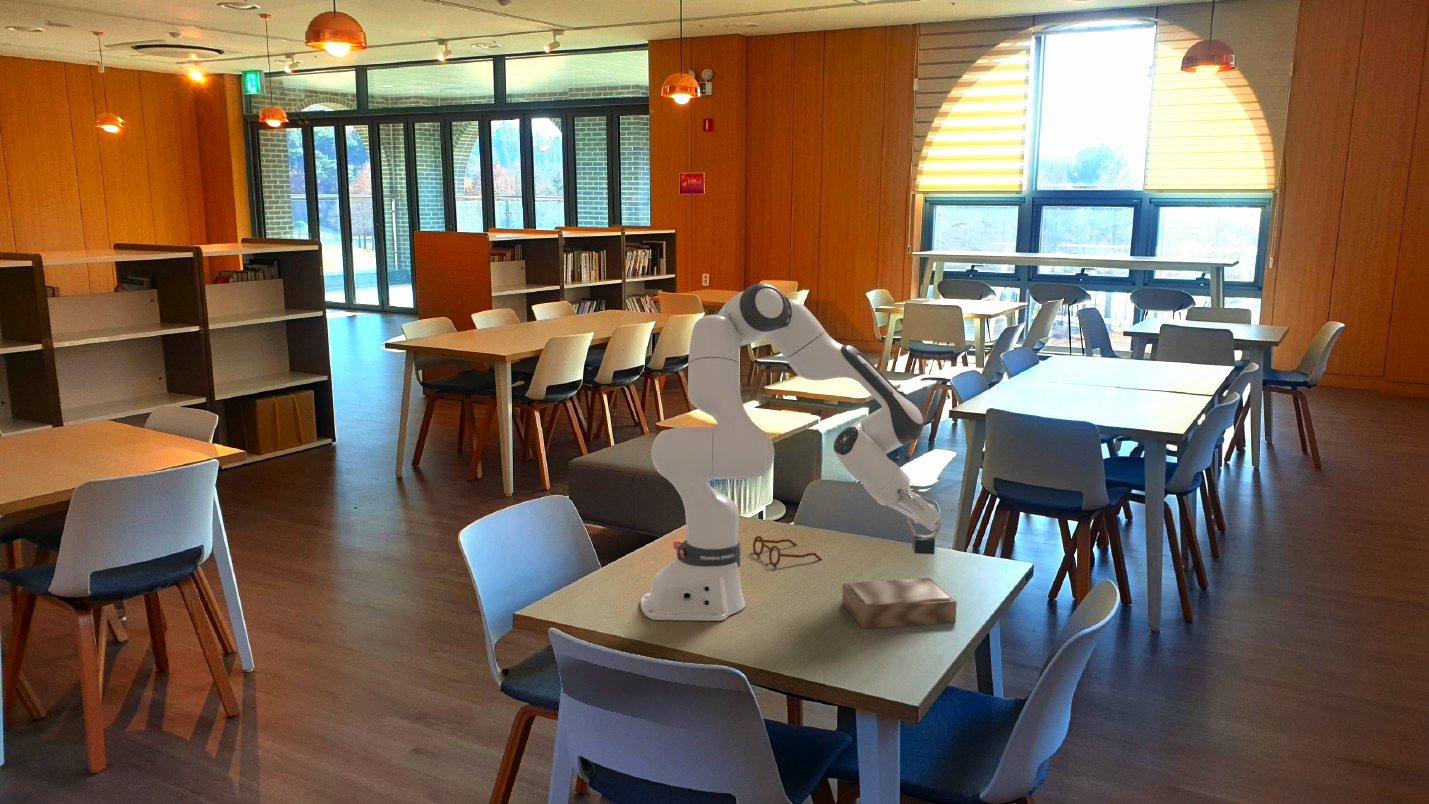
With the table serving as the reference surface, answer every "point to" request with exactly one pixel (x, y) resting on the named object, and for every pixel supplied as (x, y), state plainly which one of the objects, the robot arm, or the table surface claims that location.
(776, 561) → the glasses
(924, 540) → the watch
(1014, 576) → the table surface
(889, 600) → the display riser
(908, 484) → the robot arm
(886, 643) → the table surface
